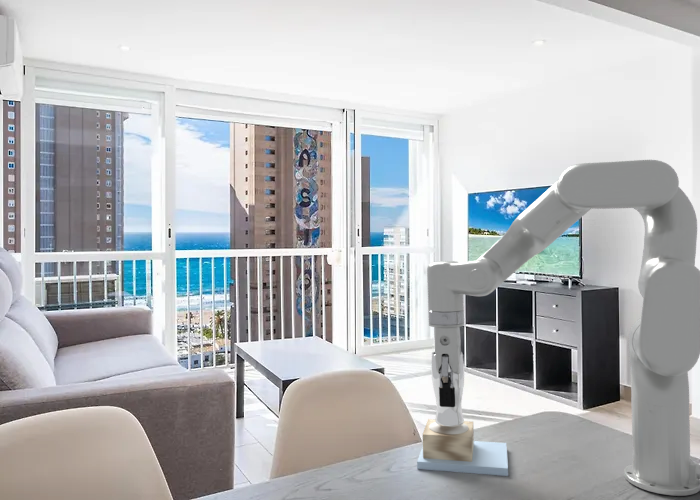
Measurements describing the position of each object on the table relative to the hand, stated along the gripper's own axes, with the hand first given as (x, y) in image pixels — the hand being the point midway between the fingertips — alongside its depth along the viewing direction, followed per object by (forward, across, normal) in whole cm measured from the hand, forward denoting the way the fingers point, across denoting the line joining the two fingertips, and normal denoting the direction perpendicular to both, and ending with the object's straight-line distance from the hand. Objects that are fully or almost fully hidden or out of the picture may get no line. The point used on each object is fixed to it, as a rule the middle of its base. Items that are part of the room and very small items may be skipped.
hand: (448, 400), depth 116 cm
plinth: (+11, 0, 0) cm, 11 cm away
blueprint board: (+12, 0, -3) cm, 13 cm away
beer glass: (+5, 0, 0) cm, 5 cm away
